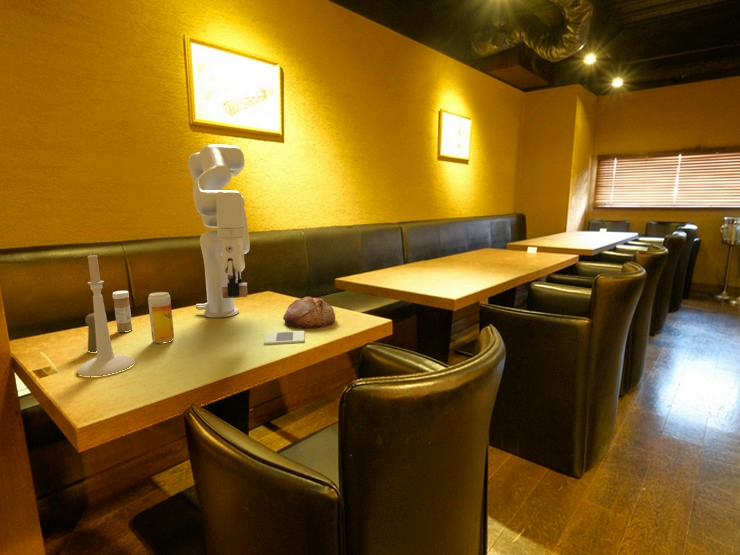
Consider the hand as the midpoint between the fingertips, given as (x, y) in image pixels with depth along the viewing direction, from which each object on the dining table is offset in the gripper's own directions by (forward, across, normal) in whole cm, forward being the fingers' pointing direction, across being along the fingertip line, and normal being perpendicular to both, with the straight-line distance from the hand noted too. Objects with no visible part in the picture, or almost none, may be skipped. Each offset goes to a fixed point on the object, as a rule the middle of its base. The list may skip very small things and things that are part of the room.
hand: (235, 293), depth 129 cm
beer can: (+15, +4, +23) cm, 28 cm away
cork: (+15, -1, +39) cm, 42 cm away
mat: (+15, 0, -14) cm, 21 cm away
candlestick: (+15, -16, +31) cm, 38 cm away
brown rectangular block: (+1, 0, 0) cm, 1 cm away
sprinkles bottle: (+15, +17, +39) cm, 45 cm away
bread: (+15, +16, -22) cm, 32 cm away
